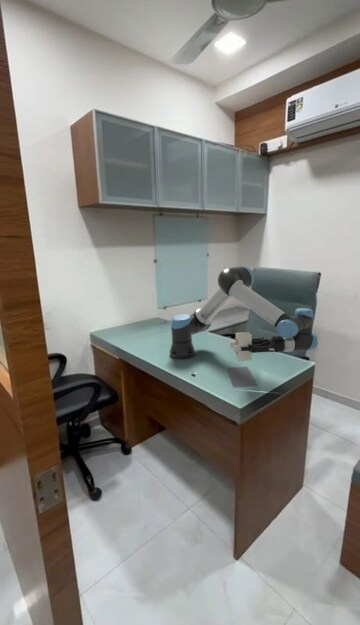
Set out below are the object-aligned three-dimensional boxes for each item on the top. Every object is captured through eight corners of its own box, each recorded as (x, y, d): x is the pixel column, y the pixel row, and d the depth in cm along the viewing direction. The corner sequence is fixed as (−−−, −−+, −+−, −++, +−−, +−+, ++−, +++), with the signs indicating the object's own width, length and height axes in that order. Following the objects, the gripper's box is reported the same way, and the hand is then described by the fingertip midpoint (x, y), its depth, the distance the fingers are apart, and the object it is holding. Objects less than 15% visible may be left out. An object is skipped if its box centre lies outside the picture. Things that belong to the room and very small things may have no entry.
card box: (248, 356, 142) (248, 331, 139) (251, 360, 137) (251, 334, 135) (235, 357, 141) (235, 332, 139) (237, 361, 137) (237, 335, 134)
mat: (226, 368, 159) (226, 367, 158) (247, 367, 158) (247, 366, 158) (233, 388, 137) (233, 386, 137) (257, 387, 137) (257, 386, 137)
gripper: (290, 358, 132) (237, 361, 130) (274, 345, 149) (227, 348, 147) (290, 341, 130) (237, 345, 128) (274, 330, 147) (227, 333, 145)
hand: (232, 346), depth 138 cm, fingers closed on card box, 4 cm apart
